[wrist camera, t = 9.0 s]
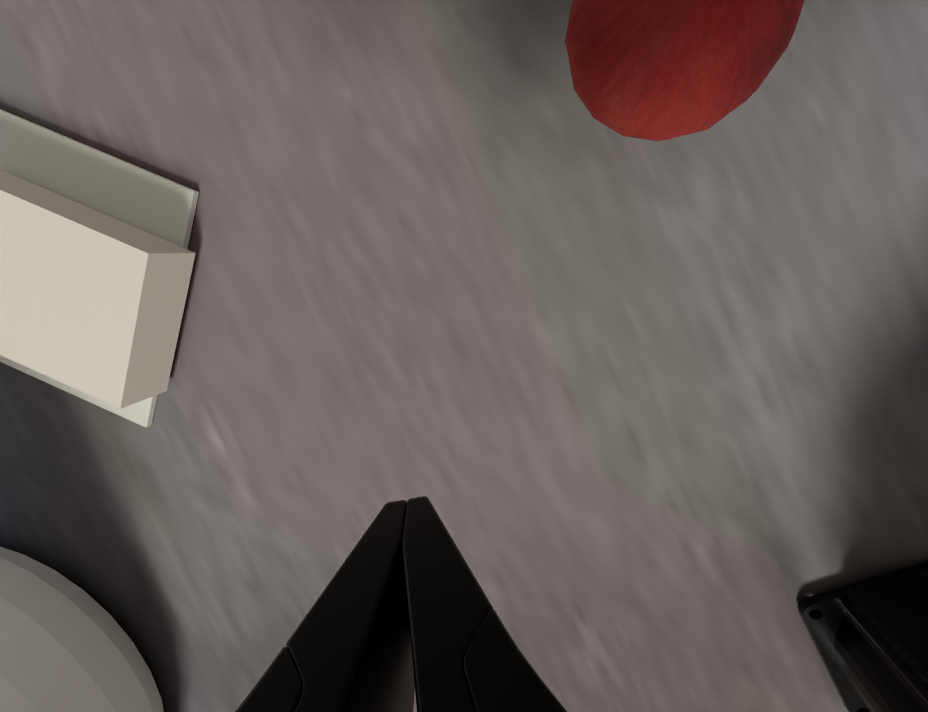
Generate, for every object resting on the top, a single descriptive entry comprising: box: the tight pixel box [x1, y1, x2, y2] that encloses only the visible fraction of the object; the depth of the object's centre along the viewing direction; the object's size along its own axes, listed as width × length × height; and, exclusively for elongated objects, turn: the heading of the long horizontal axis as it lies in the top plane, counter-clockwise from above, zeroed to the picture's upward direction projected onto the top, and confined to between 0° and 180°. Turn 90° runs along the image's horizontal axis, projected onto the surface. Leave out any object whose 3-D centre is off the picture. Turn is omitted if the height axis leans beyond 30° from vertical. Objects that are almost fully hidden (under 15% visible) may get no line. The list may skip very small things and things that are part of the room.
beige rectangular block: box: [0, 170, 196, 409], centre depth 20 cm, size 3×7×10 cm
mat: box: [0, 109, 199, 428], centre depth 21 cm, size 14×12×1 cm
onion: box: [565, 0, 804, 141], centre depth 12 cm, size 6×6×8 cm
